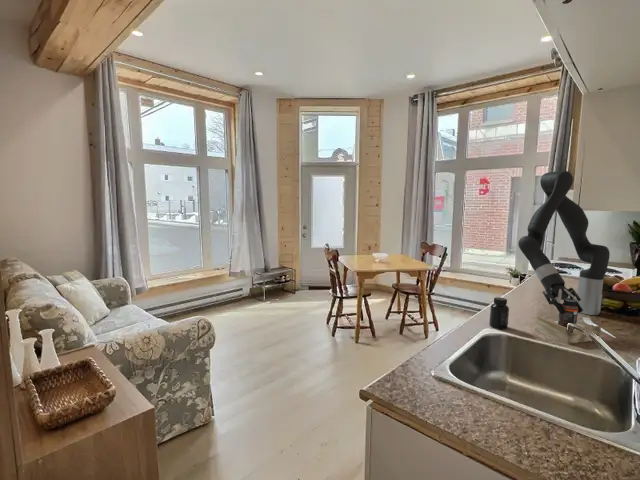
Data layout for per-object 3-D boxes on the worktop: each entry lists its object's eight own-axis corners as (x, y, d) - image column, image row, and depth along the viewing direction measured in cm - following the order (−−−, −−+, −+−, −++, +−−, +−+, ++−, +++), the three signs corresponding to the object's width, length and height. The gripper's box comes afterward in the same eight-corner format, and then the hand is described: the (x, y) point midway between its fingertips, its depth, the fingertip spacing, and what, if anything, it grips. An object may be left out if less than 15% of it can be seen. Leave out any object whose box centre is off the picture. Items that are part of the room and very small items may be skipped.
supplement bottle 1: (505, 325, 148) (508, 297, 146) (508, 330, 141) (511, 302, 140) (487, 322, 150) (490, 295, 149) (490, 328, 144) (492, 299, 142)
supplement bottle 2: (578, 331, 136) (582, 302, 134) (561, 329, 137) (565, 301, 135) (571, 325, 141) (574, 298, 140) (554, 324, 143) (558, 297, 141)
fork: (610, 339, 139) (611, 334, 138) (580, 320, 158) (581, 316, 158) (619, 340, 138) (620, 335, 138) (588, 321, 158) (589, 317, 158)
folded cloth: (564, 327, 148) (566, 314, 147) (599, 340, 135) (601, 327, 134) (535, 329, 144) (536, 317, 143) (567, 343, 130) (569, 330, 130)
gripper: (542, 272, 141) (565, 309, 132) (569, 272, 145) (593, 307, 136) (529, 282, 147) (551, 318, 138) (556, 281, 151) (578, 315, 142)
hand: (572, 312), depth 137 cm, fingers open, 8 cm apart
